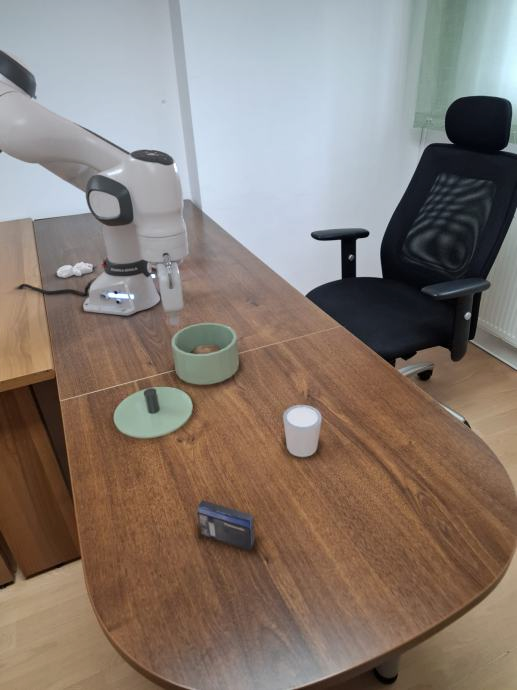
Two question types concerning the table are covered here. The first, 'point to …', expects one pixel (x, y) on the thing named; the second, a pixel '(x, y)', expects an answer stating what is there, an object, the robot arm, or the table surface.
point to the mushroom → (205, 349)
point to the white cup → (302, 429)
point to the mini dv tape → (226, 524)
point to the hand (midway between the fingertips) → (172, 312)
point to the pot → (205, 365)
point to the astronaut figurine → (74, 270)
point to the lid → (153, 412)
